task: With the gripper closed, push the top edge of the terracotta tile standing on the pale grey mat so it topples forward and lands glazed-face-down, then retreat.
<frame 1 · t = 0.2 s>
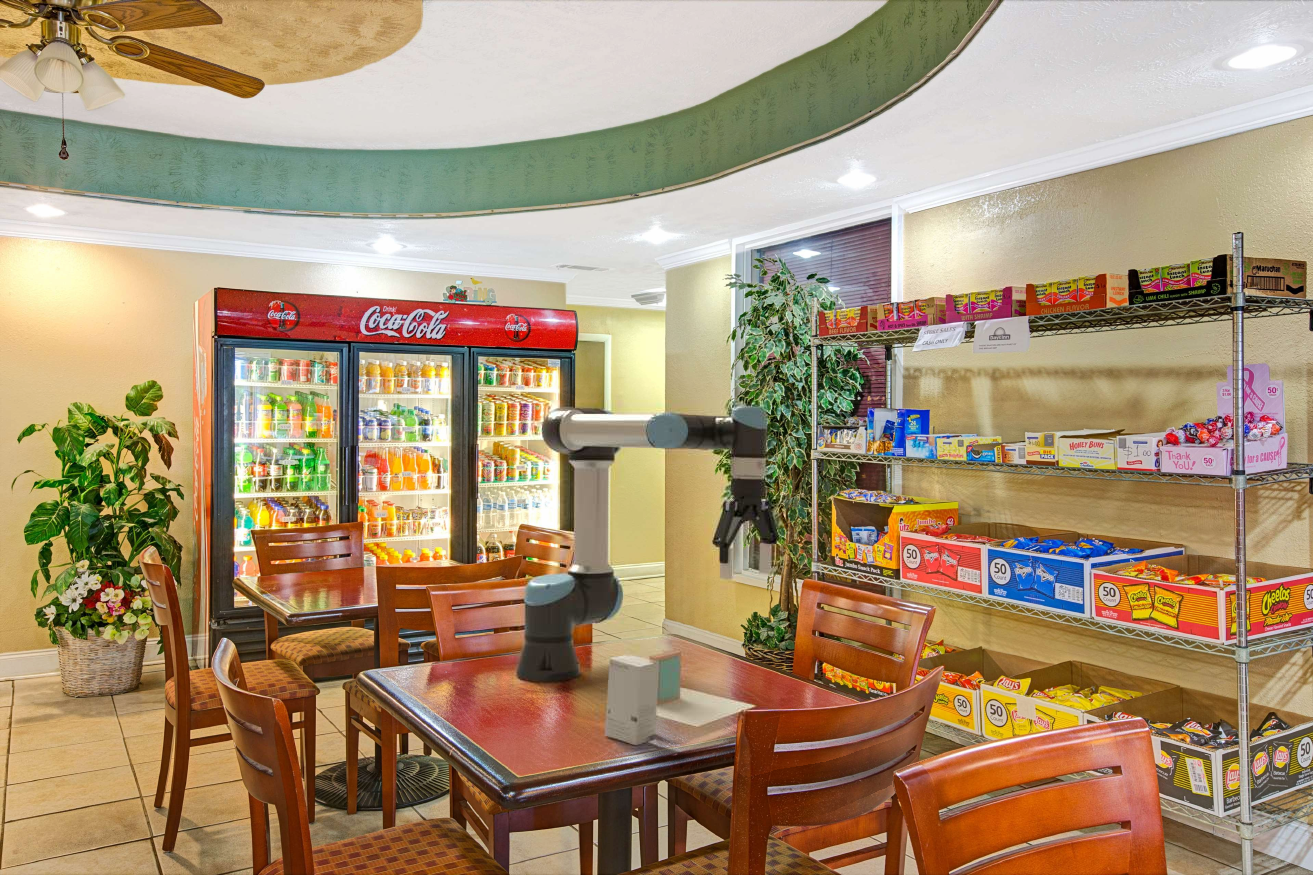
hand: (746, 576, 193), 28 cm above the table, fingers open, 13 cm apart
mat: (682, 708, 188), on the table
skincare box: (631, 738, 169), on the table
tile: (664, 700, 190), point 1 cm above the table, touching mat
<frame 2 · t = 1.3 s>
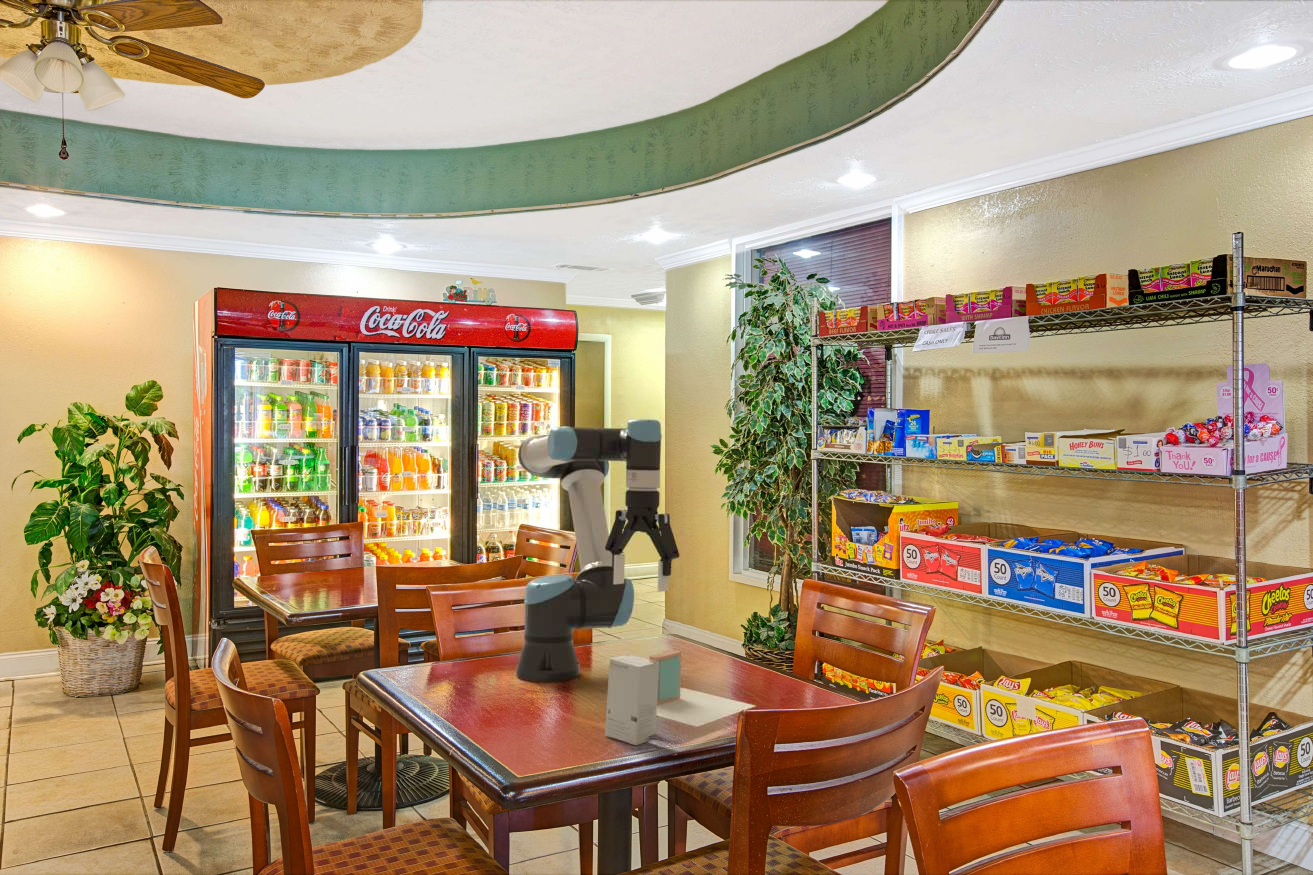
hand: (640, 587, 196), 24 cm above the table, fingers open, 12 cm apart
nothing on the table moved.
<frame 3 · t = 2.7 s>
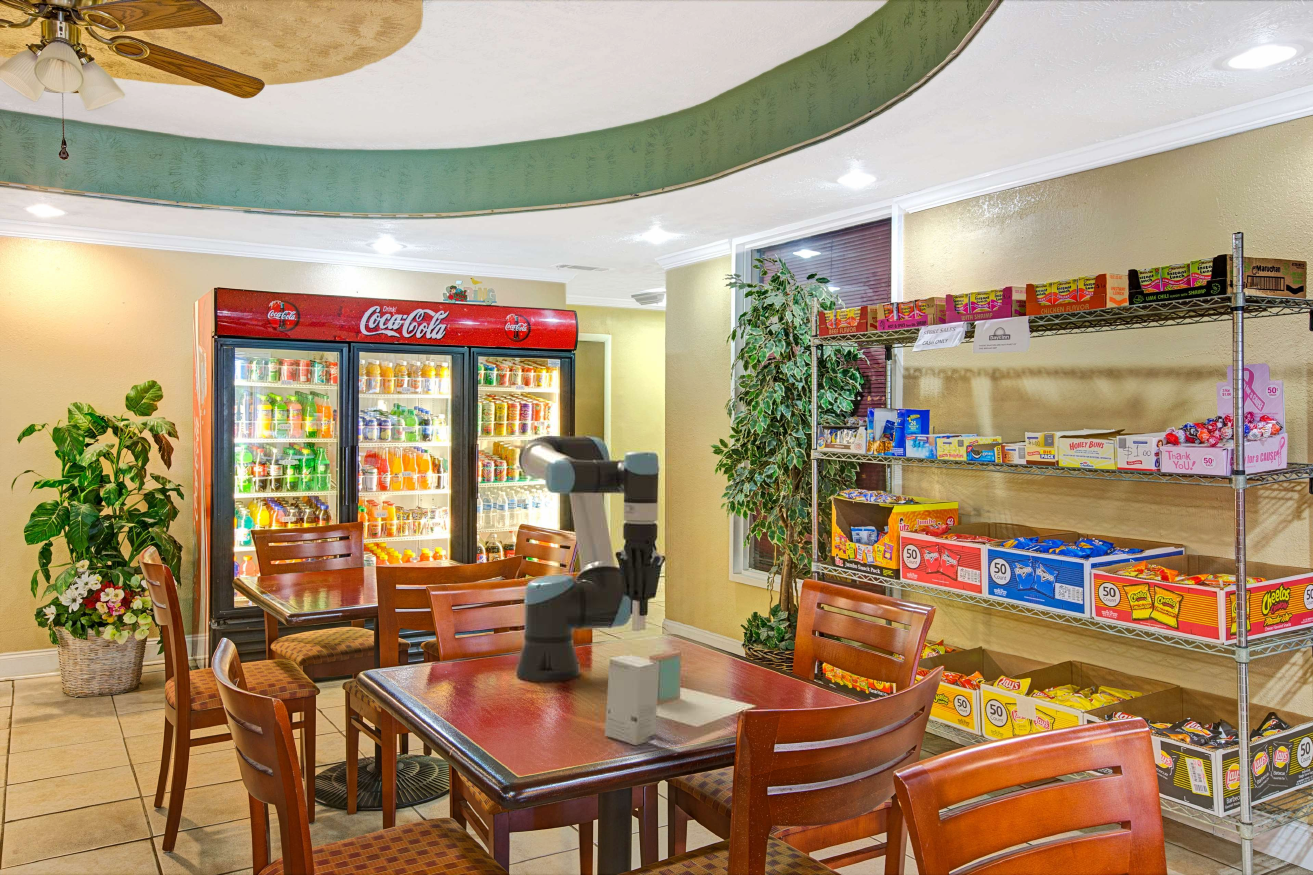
hand: (638, 629, 195), 15 cm above the table, fingers closed
nothing on the table moved.
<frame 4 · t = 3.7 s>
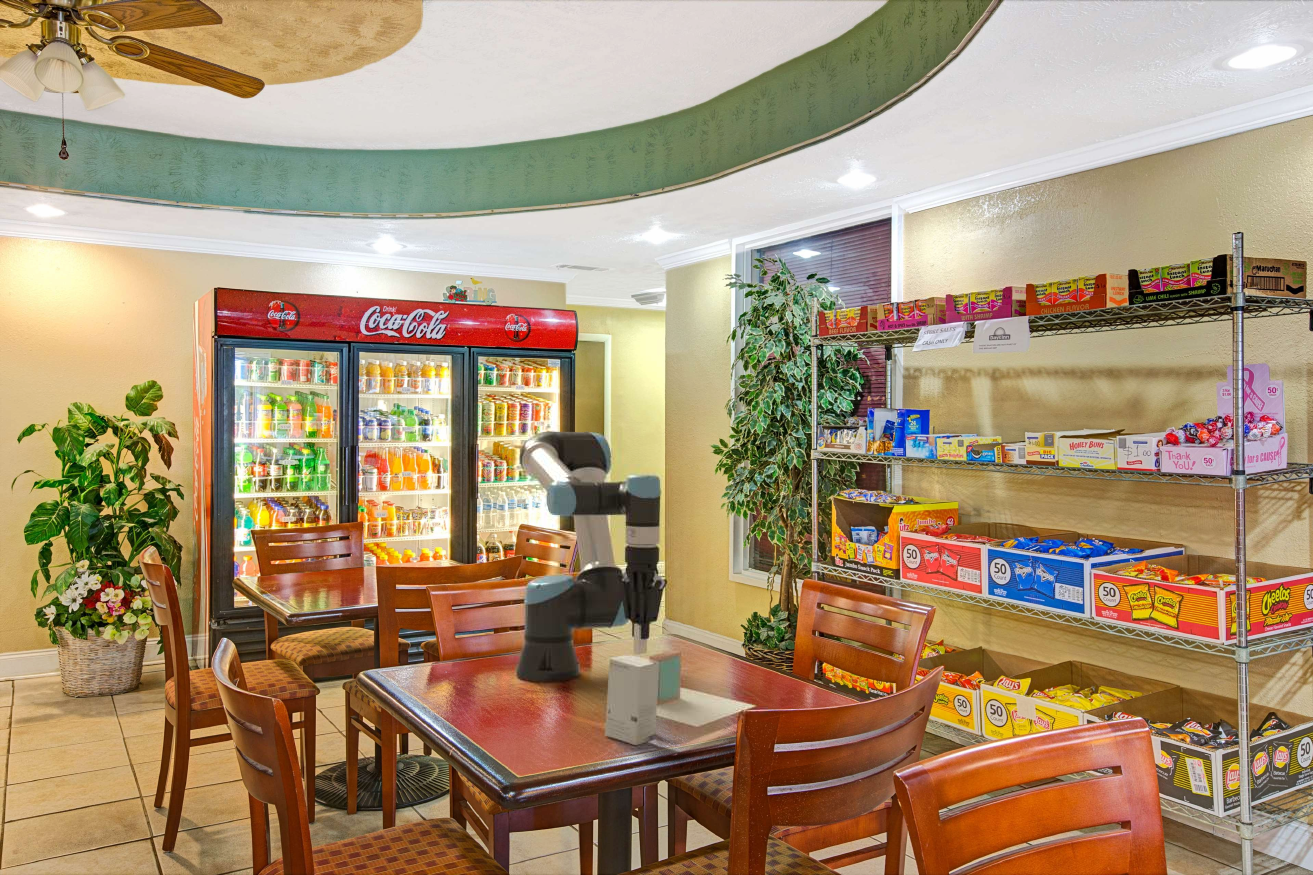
hand: (640, 653, 195), 10 cm above the table, fingers closed
nothing on the table moved.
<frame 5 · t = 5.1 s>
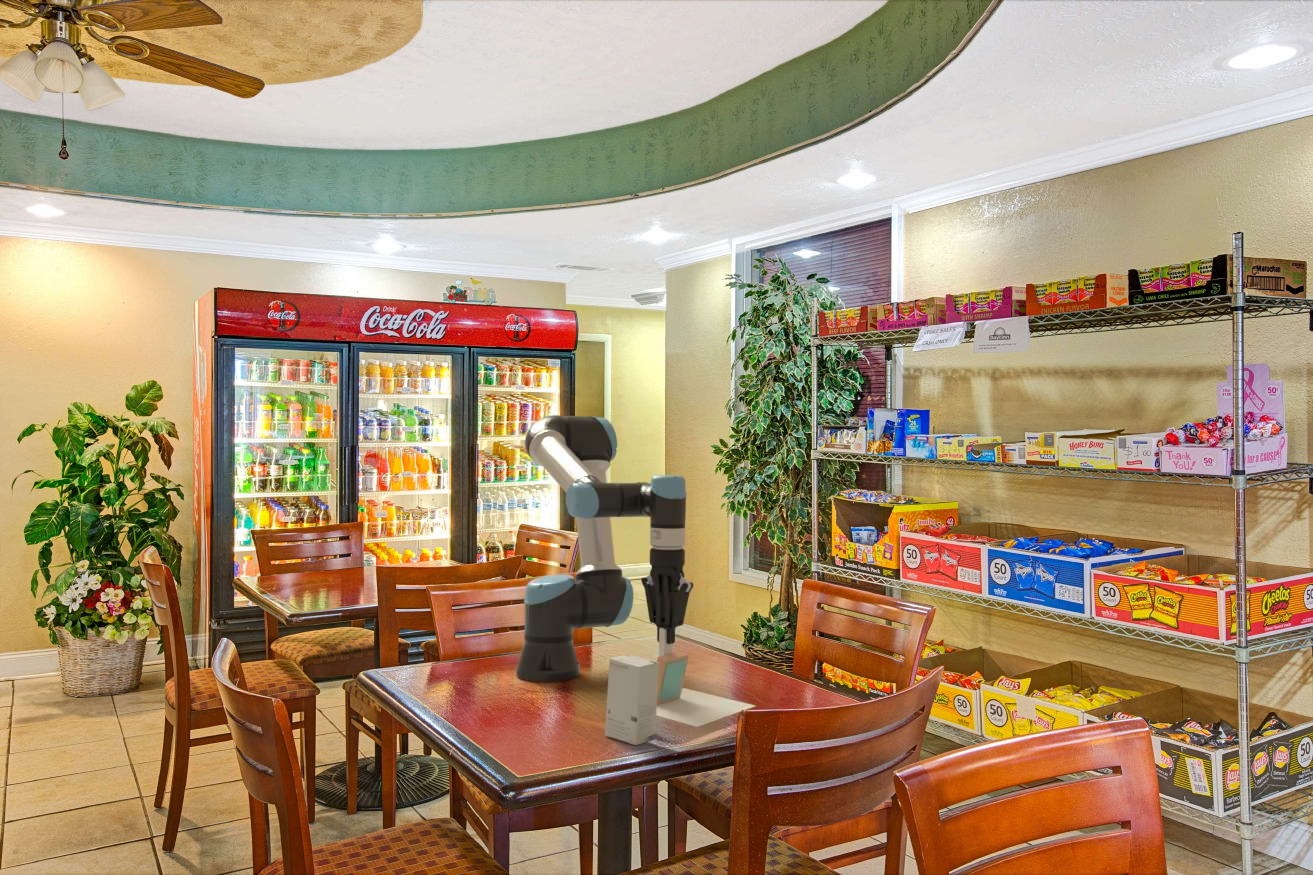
hand: (665, 658, 190), 10 cm above the table, fingers closed
tile: (664, 699, 190), point 1 cm above the table, tilted 13°, touching mat
everything else where it was.
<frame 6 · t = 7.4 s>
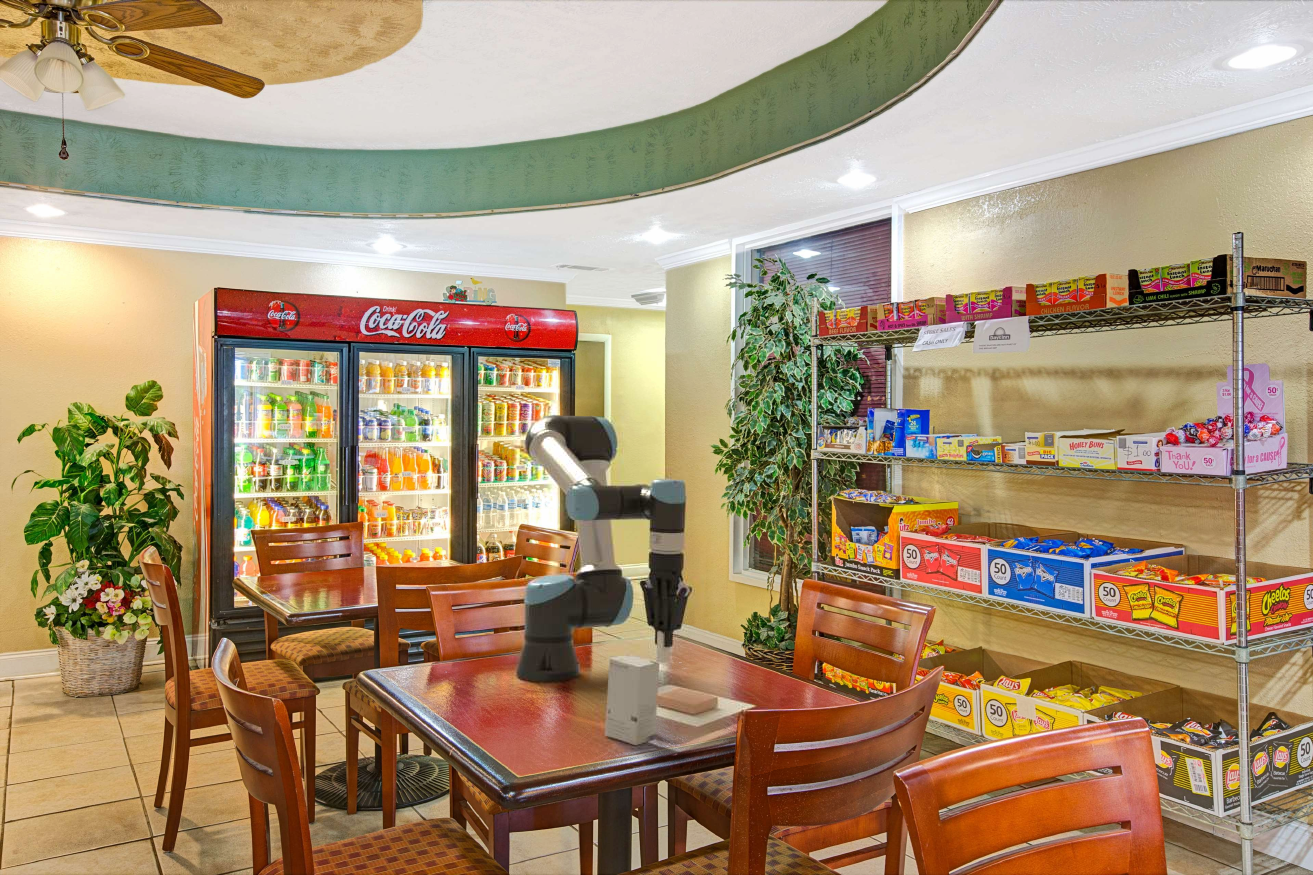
hand: (663, 660, 191), 9 cm above the table, fingers closed
tile: (668, 696, 190), point 2 cm above the table, tilted 90°, touching mat
everything else where it was.
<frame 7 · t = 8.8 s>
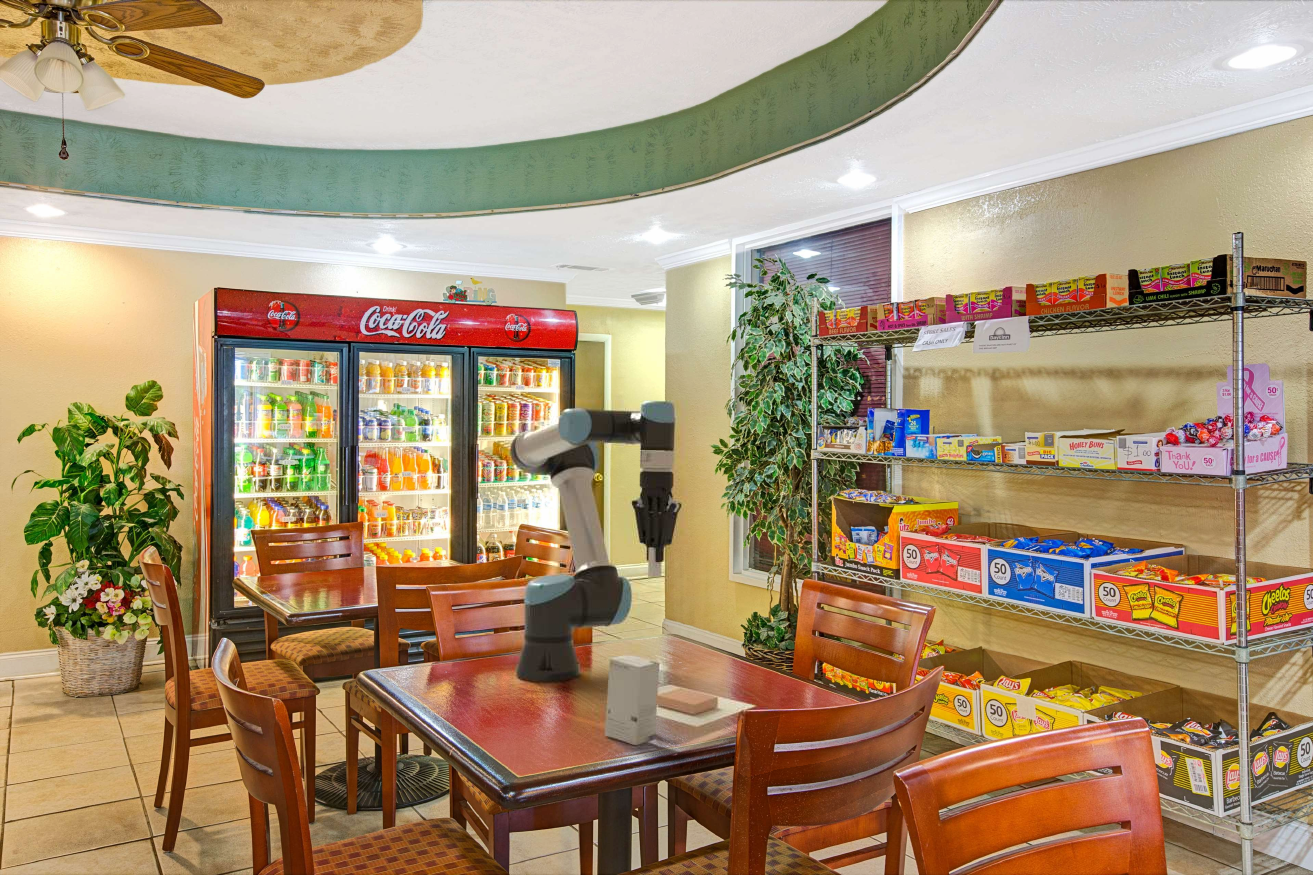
hand: (654, 576, 198), 26 cm above the table, fingers closed
nothing on the table moved.
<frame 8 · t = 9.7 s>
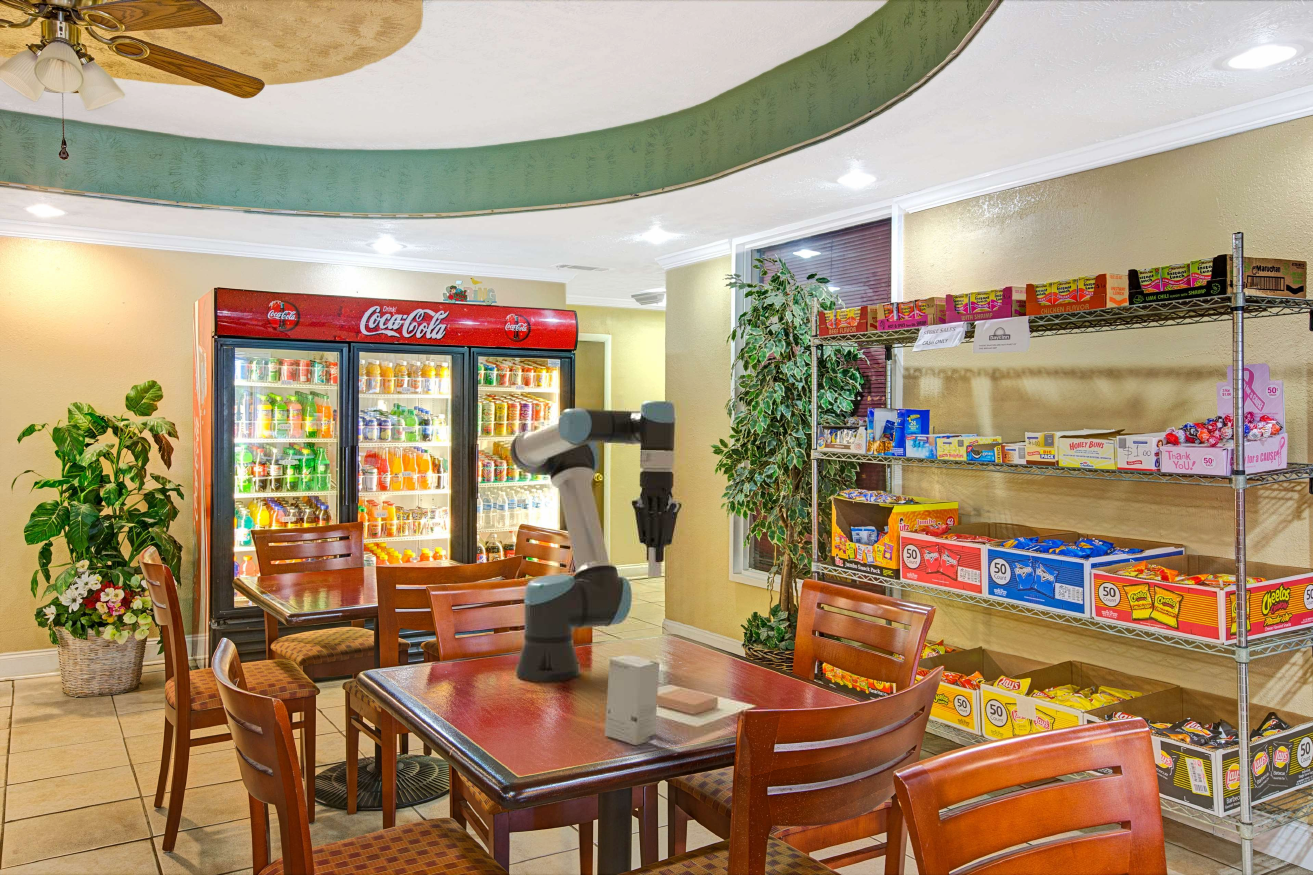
hand: (654, 576, 198), 26 cm above the table, fingers closed
nothing on the table moved.
at the end: tile tilted 90°; tile inside the target area (5.0 cm from its centre), point 2.2 cm above the table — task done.
